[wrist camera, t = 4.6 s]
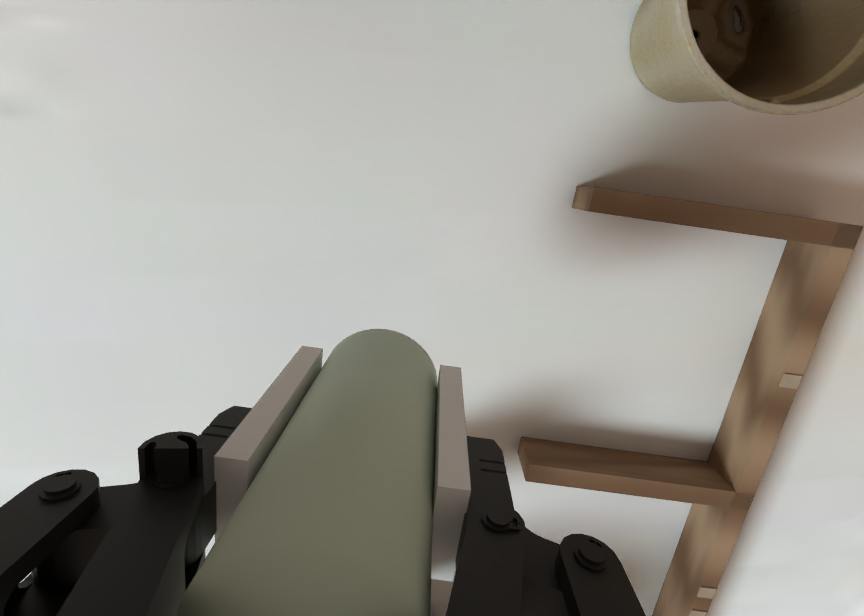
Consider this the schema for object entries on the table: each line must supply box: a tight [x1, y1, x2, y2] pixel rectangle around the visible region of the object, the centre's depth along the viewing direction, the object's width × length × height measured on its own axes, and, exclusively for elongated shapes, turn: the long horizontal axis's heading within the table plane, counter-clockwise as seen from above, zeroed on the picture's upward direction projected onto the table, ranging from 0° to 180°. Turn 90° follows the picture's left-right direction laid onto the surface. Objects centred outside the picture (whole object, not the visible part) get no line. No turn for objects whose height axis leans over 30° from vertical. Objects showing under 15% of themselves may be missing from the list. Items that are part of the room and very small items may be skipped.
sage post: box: [176, 329, 437, 616], centre depth 13 cm, size 4×4×10 cm
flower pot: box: [630, 0, 864, 115], centre depth 19 cm, size 9×9×9 cm
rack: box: [518, 186, 863, 616], centre depth 29 cm, size 34×14×3 cm, turn 172°
